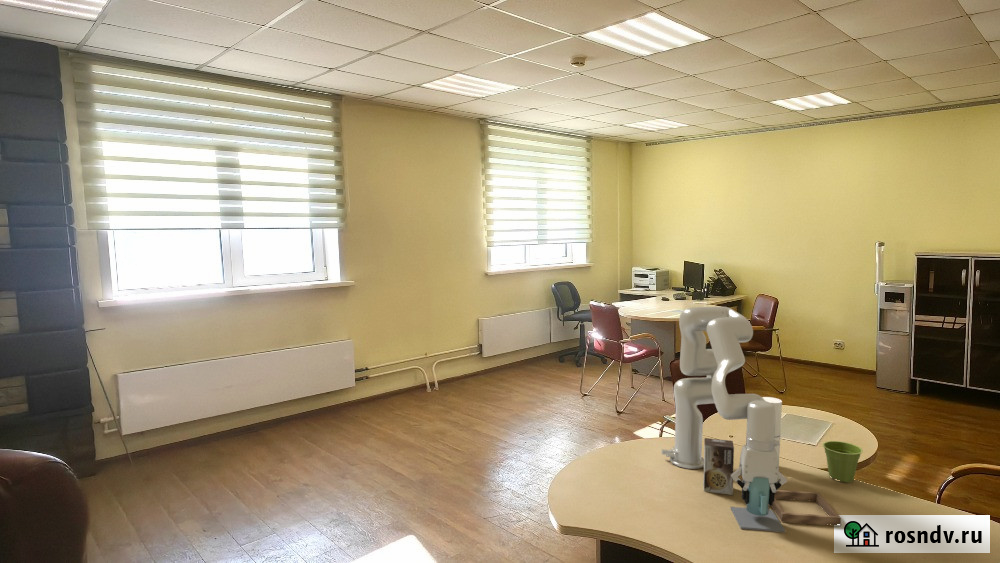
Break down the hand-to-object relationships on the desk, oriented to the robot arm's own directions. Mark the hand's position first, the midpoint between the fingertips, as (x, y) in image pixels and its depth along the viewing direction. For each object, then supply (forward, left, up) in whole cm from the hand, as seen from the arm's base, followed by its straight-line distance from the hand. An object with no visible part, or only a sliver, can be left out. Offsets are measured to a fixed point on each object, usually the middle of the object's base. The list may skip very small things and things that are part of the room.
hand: (757, 502), depth 166 cm
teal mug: (0, -2, -3) cm, 3 cm away
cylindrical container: (+15, +40, -6) cm, 43 cm away
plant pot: (+37, +34, -6) cm, 51 cm away
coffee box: (-7, +19, -6) cm, 21 cm away
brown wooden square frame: (+15, +8, -6) cm, 18 cm away
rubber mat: (0, 0, -6) cm, 6 cm away
